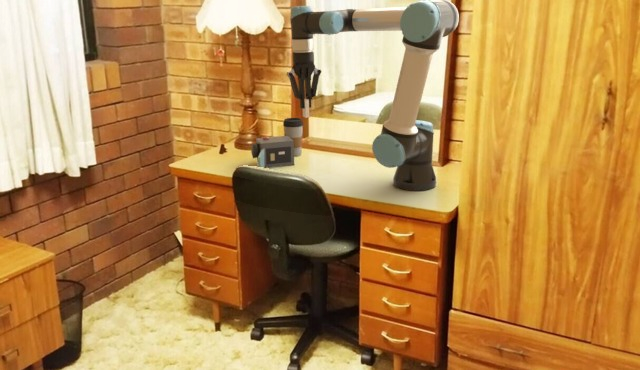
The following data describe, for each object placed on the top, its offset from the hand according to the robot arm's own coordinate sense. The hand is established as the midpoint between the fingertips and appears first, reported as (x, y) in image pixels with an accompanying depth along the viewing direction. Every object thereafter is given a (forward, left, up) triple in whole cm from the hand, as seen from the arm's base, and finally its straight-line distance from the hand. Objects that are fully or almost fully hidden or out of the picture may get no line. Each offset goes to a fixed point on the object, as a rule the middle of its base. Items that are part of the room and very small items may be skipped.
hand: (306, 116), depth 229 cm
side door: (+8, +16, -21) cm, 28 cm away
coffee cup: (+29, -3, -22) cm, 37 cm away
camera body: (+19, +9, -22) cm, 30 cm away
